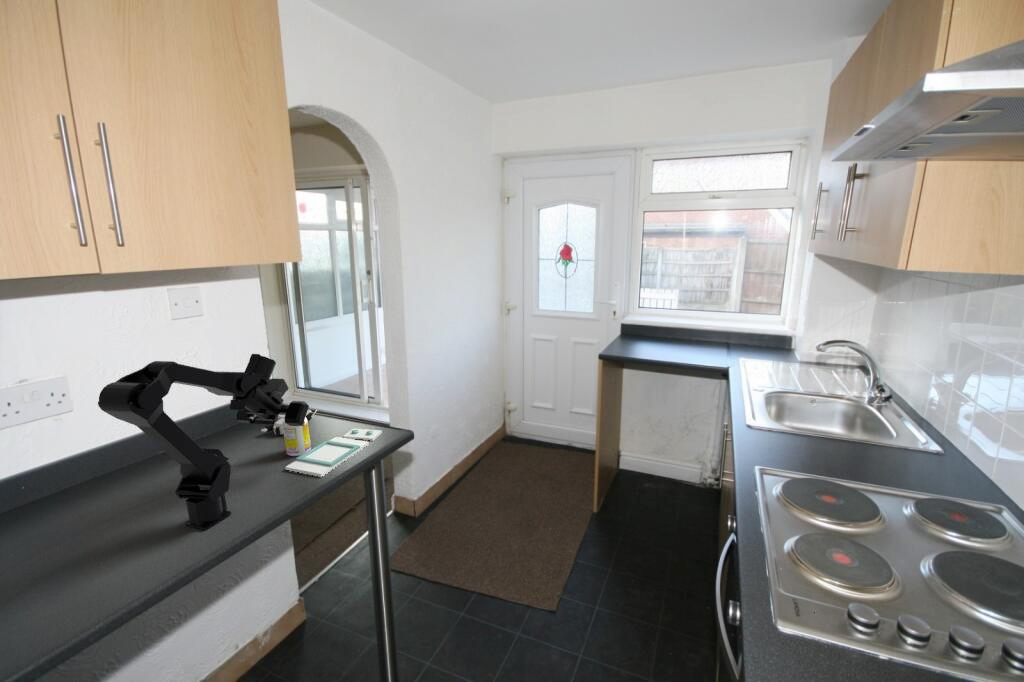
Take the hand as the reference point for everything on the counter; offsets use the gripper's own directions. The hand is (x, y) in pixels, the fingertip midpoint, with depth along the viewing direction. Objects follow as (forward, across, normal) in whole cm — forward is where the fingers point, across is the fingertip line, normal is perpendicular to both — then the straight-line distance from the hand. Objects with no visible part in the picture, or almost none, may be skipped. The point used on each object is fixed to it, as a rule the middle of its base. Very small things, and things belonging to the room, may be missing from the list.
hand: (288, 423), depth 132 cm
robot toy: (+20, +13, -6) cm, 25 cm away
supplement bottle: (+9, 0, +5) cm, 11 cm away
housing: (+8, -11, +6) cm, 15 cm away
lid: (+18, -14, -4) cm, 23 cm away
